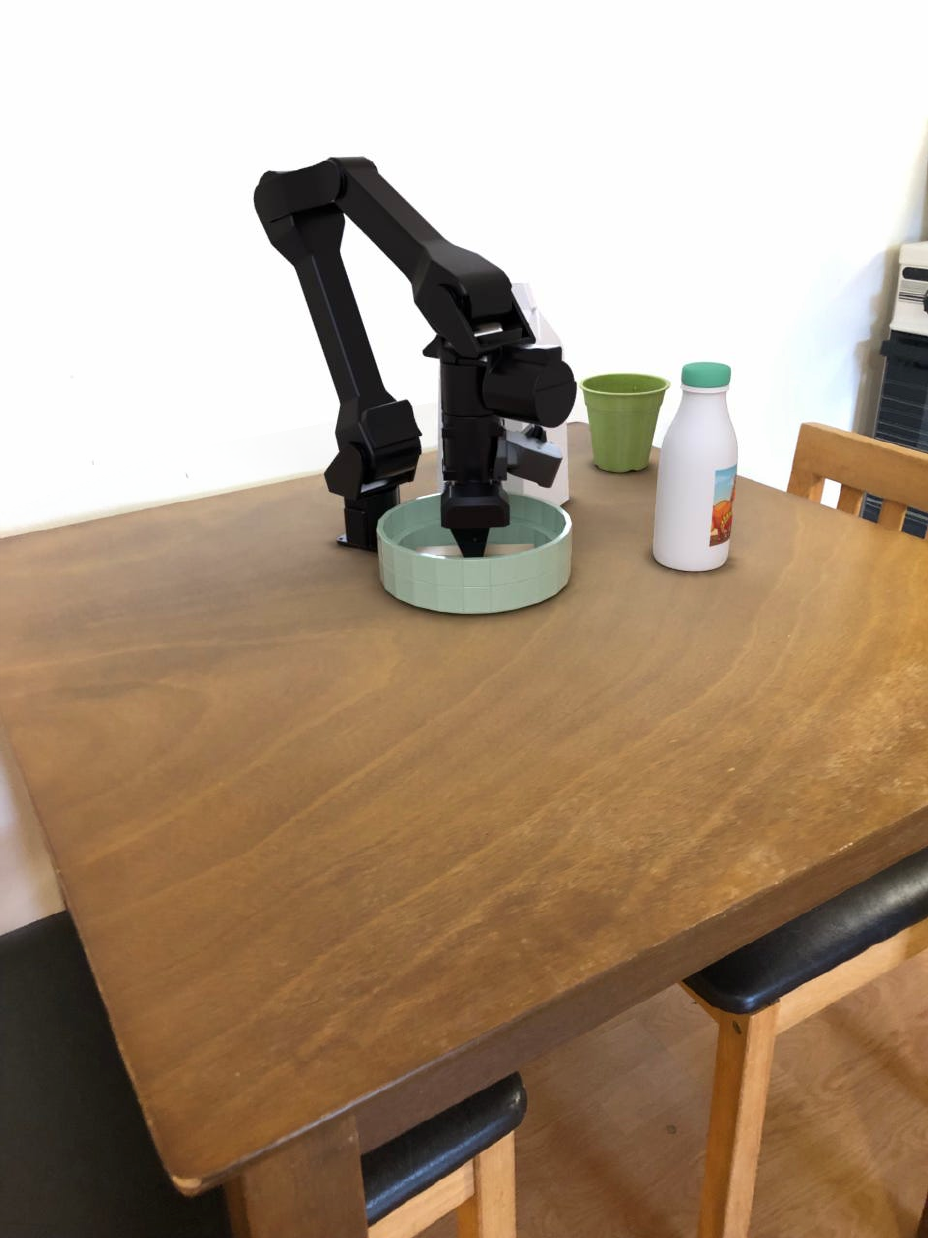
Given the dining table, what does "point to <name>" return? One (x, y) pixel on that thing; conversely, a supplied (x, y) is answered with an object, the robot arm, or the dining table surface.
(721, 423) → the milk bottle
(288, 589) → the dining table surface
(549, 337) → the milk
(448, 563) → the bowl
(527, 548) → the stick
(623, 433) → the plant pot
